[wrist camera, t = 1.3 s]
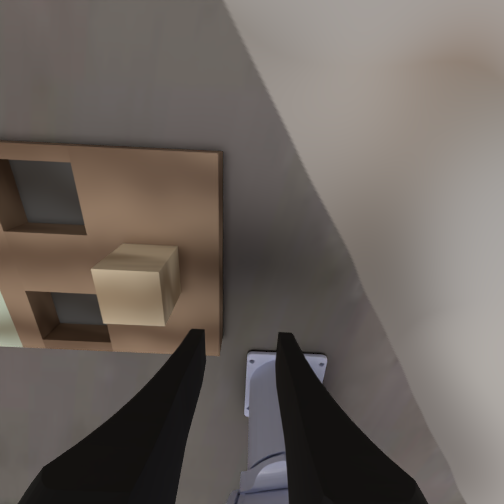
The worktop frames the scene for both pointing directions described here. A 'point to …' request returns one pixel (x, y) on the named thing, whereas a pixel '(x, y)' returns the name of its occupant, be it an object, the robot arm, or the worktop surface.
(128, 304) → the beech block
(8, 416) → the worktop surface
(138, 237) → the board
